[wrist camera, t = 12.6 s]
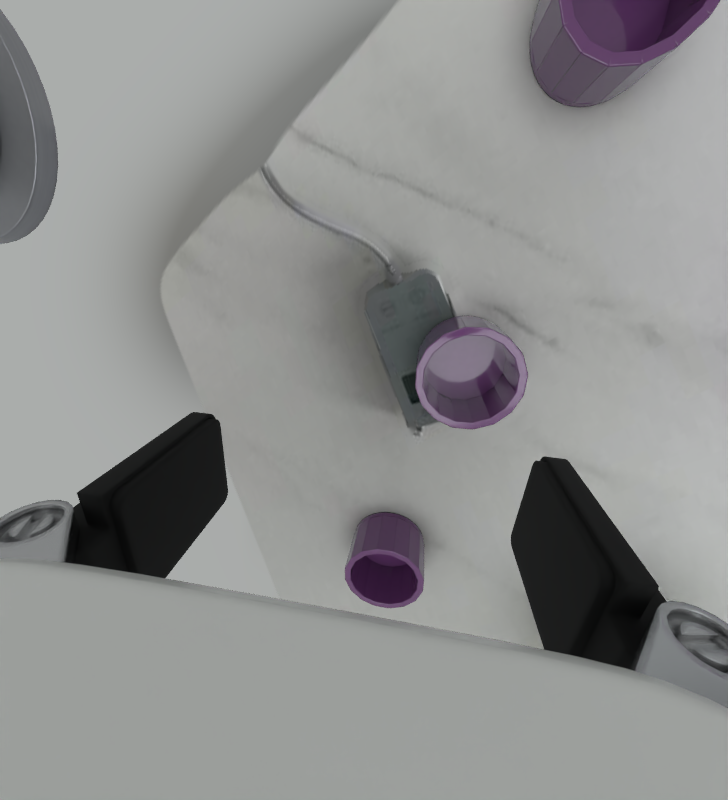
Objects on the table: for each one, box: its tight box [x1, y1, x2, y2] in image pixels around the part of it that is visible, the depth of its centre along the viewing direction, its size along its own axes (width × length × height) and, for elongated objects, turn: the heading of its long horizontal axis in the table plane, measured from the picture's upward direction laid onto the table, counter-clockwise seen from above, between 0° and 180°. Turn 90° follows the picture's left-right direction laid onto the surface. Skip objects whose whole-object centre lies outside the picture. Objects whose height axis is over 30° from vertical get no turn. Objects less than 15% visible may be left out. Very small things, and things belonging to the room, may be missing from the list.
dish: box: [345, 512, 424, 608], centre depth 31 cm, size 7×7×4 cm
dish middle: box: [415, 316, 528, 429], centre depth 23 cm, size 7×7×4 cm
